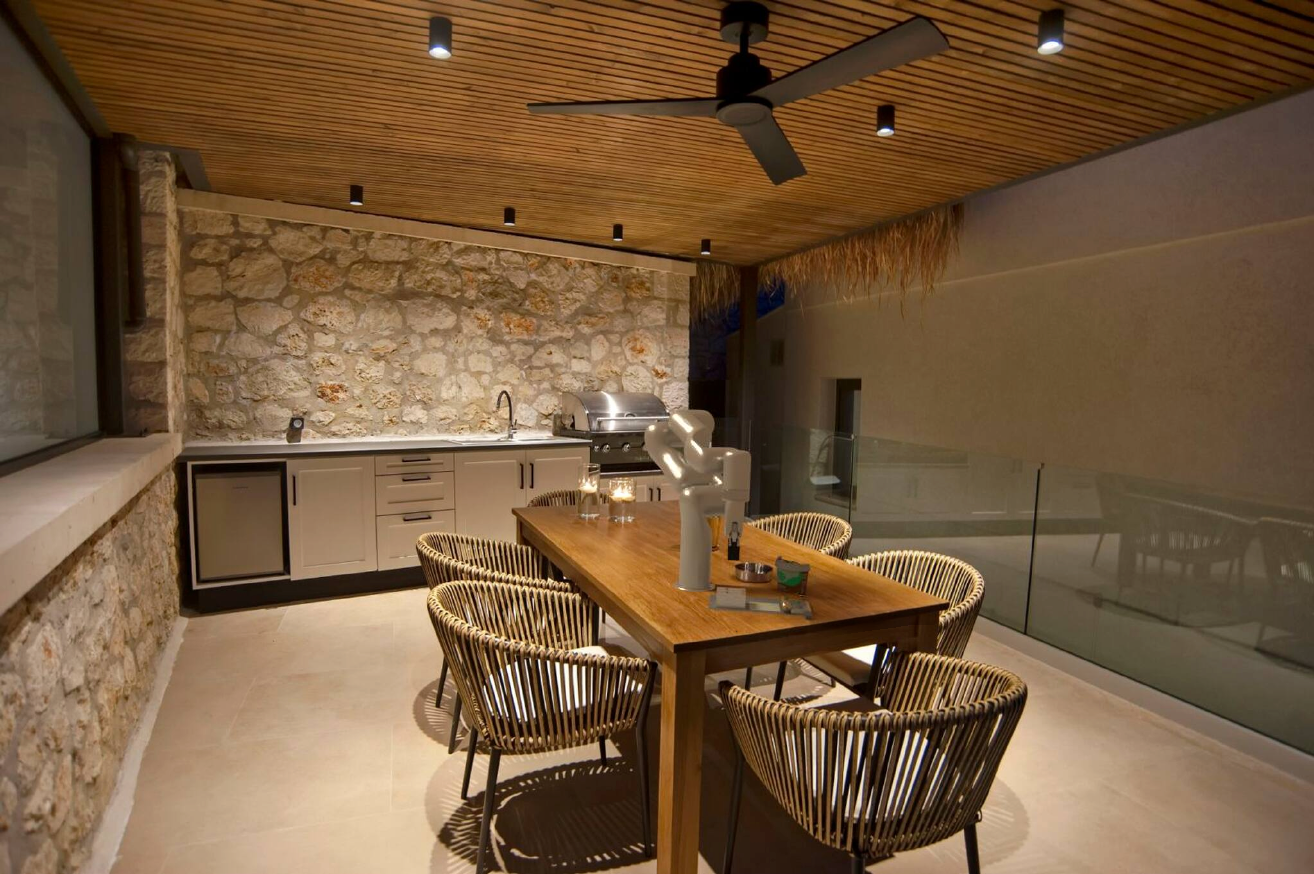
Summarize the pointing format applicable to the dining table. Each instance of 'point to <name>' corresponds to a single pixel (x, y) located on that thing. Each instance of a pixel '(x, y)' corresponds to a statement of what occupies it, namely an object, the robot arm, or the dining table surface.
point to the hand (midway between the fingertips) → (733, 556)
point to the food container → (792, 576)
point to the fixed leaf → (795, 606)
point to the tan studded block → (731, 598)
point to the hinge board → (758, 606)
